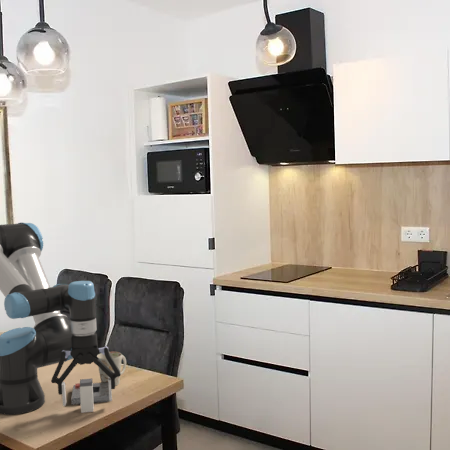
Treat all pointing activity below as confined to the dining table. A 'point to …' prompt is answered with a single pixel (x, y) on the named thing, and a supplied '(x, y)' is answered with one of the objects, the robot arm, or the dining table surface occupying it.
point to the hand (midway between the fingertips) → (87, 402)
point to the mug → (117, 359)
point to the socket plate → (98, 393)
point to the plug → (86, 395)
